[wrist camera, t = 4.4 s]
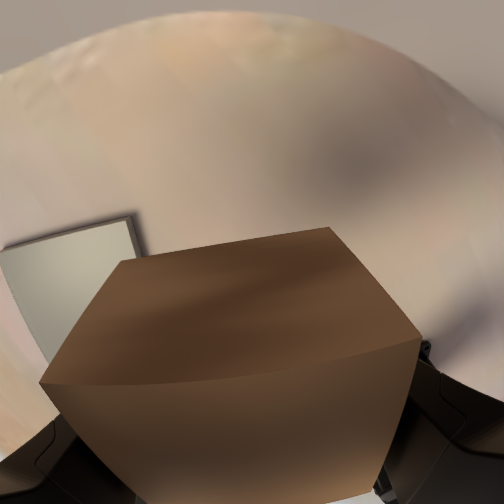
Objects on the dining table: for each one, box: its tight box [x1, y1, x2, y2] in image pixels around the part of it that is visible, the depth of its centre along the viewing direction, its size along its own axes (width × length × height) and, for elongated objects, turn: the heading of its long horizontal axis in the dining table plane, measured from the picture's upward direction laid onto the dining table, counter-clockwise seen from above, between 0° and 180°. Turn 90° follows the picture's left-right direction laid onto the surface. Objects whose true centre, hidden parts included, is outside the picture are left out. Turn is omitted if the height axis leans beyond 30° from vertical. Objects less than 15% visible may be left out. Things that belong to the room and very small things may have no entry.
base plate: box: [0, 216, 142, 365], centre depth 20 cm, size 12×12×1 cm
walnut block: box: [39, 227, 423, 504], centre depth 7 cm, size 6×6×5 cm
